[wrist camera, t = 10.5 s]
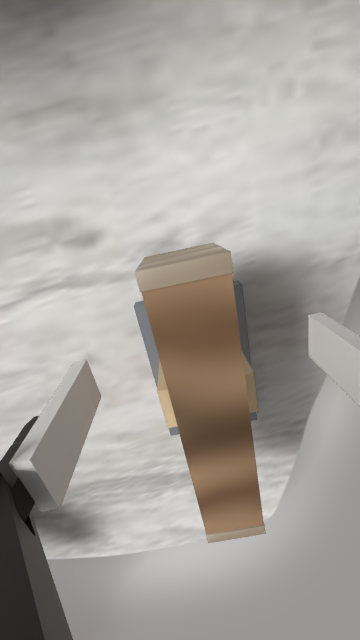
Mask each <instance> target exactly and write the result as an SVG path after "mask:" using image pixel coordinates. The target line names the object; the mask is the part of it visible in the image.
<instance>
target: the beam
mask: <svg viewBox="0 0 360 640" xmlns="http://www.w3.org/2000/svg"><path fill="white" fill-rule="evenodd" d="M232 273H233V267H232V259H231V252H230V251H228V250H226V249H224V248H222V247H220V246H218V245H216V244H215V243H210V244H205V245H200V246H196V247H191V248H186V249H182V250H177V251H172V252H168V253H163V254H158V255H154V256H149V257H145V258H144V259H143V261H142V262H141V264H140V265H139V267H138V268H137V270H136V271H135V275H136V279H137V282H138V286H139V290H140V292H142V296H143V299H144V303H145V307H146V311H147V314H148V318H149V322H150V325H151V329H152V333H153V337H154V340H155V344H156V348H157V351H158V355H159V359H160V363H161V366H162V370H163V374H164V378H165V381H166V385H167V389H168V392H169V396H170V400H171V404H172V407H173V411H174V415H175V418H176V422H177V426H178V430H179V433H180V437H181V441H182V444H183V448H184V452H185V456H186V459H187V463H188V467H189V471H190V474H191V478H192V482H193V485H194V489H195V493H196V497H197V500H198V504H199V508H200V511H201V515H202V519H203V523H204V526H205V530H206V537H207V541H208V543H212V542H218V541H224V540H230V539H236V538H242V537H248V536H254V535H260V534H265V533H266V532H265V525H264V522H263V516H262V508H261V500H260V492H259V484H258V476H257V468H256V460H255V453H254V445H253V437H252V429H251V421H250V413H249V405H248V397H247V389H246V381H245V374H244V366H243V358H242V350H241V342H240V334H239V326H238V318H237V310H236V302H235V295H234V287H233V279H232Z"/></svg>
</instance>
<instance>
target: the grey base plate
mask: <svg viewBox="0 0 360 640" xmlns="http://www.w3.org/2000/svg"><path fill="white" fill-rule="evenodd" d="M233 287H234V295H235V302H236V310H237V318H238V326H239V334H240V342H241V350H242V358H243V366H244V374H245V381H246V389H247V397H248V405H249V413H250V421H252V420H257V415H256V412H257V411H258V405H257V396H256V387H255V378H254V372H253V370H252V368H251V362H250V353H249V344H248V335H247V327H246V318H245V309H244V300H243V291H242V284H241V283H240V282H239V281H237V282H233ZM134 309H135V312H136V316H137V319H138V323H139V326H140V330H141V333H142V337H143V340H144V344H145V347H146V351H147V354H148V358H149V361H150V365H151V368H152V372H153V375H154V378H155V382H156V385H157V393H158V396H159V400H160V403H161V406H162V410H163V413H164V417H165V420H166V424H167V427H168V428H169V431H170V434H171V435H177V434H180V433H179V430H178V426H177V422H176V418H175V415H174V411H173V407H172V404H171V400H170V396H169V392H168V389H167V385H166V381H165V378H164V374H163V370H162V366H161V363H160V359H159V355H158V351H157V348H156V344H155V340H154V337H153V333H152V329H151V325H150V322H149V318H148V314H147V311H146V307H145V303H144V301H140V302H135V305H134Z"/></svg>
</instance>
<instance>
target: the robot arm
mask: <svg viewBox="0 0 360 640" xmlns="http://www.w3.org/2000/svg"><path fill="white" fill-rule="evenodd" d="M308 347H309V357H310V358H311V359H312V360H313V361H314V362H315V363H316V364H317V365H318V366H319V367H320V368H321V369H322V370H323V371H324V372H325V373H326V374H327V375H328V376H329V377H330V378H331V379H332V380H333V381H334V382H335V383H336V384H337V385H339V387H340V388H341V389H342V390H343V391H345V392H346V393H347V394H348V395H349V396H350V397H351V398H352V399H353V400H354V401H355V402H356V403H357V404H358V405H359V406H360V336H359V335H357V334H356V333H354V332H353V331H351V330H349V329H348V328H346V327H345V326H343V325H341V324H340V323H338V322H337V321H335V320H333V319H332V318H330V317H329V316H327V315H325V314H324V313H322V312H320V313H315V314H310V315H308ZM100 399H101V394H100V392H99V389H98V387H97V384H96V382H95V379H94V377H93V374H92V372H91V369H90V367H89V364H88V362H87V360H82V361H77V362H74V363H73V365H72V366H71V368H70V369H69V371H68V372H67V374H66V375H65V377H64V379H63V380H62V382H61V383H60V385H59V386H58V388H57V389H56V391H55V393H54V394H53V396H52V397H51V399H50V400H49V402H48V403H47V405H46V406H45V408H44V410H43V411H42V413H41V414H40V416H36V417H34V418H33V419H32V420H31V421H29V422H28V423H27V424H26V425H25V426H24V428H23V429H22V431H21V432H20V434H19V435H18V437H17V438H16V439H15V441H14V442H13V445H11V447H10V448H9V450H8V451H7V453H6V454H5V456H4V457H3V458H2V460H1V461H0V640H73V638H72V635H71V632H70V629H69V626H68V623H67V620H66V617H65V614H64V611H63V608H62V605H61V602H60V599H59V596H58V593H57V590H56V587H55V584H54V581H53V578H52V575H51V572H50V569H49V566H48V563H47V560H46V557H45V554H44V550H43V547H42V544H41V541H40V538H39V535H38V532H37V529H36V526H35V523H34V520H33V518H32V517H31V515H30V512H31V509H32V507H33V505H34V503H35V504H36V506H37V507H38V509H39V510H40V512H46V511H52V510H57V509H60V507H61V504H62V502H63V499H64V496H65V494H66V491H67V488H68V485H69V483H70V480H71V477H72V475H73V472H74V469H75V466H76V464H77V461H78V458H79V456H80V453H81V450H82V448H83V445H84V442H85V439H86V437H87V434H88V431H89V429H90V426H91V423H92V420H93V418H94V415H95V412H96V410H97V407H98V404H99V402H100Z"/></svg>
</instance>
